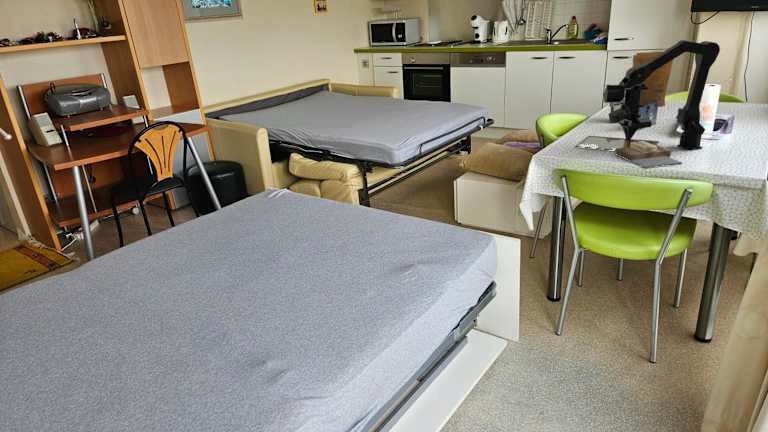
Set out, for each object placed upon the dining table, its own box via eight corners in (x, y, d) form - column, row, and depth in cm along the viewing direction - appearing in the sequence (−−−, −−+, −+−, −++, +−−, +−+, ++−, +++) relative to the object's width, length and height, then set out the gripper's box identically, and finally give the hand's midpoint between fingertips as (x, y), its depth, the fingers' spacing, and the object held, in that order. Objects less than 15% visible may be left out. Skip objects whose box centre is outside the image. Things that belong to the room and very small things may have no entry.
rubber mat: (665, 157, 193) (665, 155, 193) (681, 164, 185) (681, 162, 184) (630, 161, 191) (630, 160, 191) (645, 168, 183) (645, 166, 183)
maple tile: (641, 145, 200) (642, 140, 199) (656, 151, 192) (657, 146, 191) (629, 147, 200) (630, 142, 199) (644, 153, 191) (644, 147, 191)
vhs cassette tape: (650, 123, 241) (653, 102, 237) (657, 124, 239) (659, 102, 235) (627, 130, 232) (630, 108, 228) (634, 131, 230) (636, 109, 226)
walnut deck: (653, 150, 202) (654, 144, 201) (670, 156, 193) (671, 150, 192) (615, 154, 200) (616, 148, 199) (630, 161, 191) (631, 155, 190)
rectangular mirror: (575, 148, 213) (649, 155, 198) (575, 146, 213) (649, 153, 197) (588, 137, 227) (658, 143, 212) (588, 135, 227) (659, 141, 211)
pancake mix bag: (666, 107, 269) (674, 51, 258) (627, 106, 279) (633, 52, 268) (668, 105, 274) (676, 50, 263) (629, 103, 284) (635, 50, 273)
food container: (622, 118, 254) (624, 98, 250) (631, 120, 249) (634, 99, 245) (601, 121, 251) (603, 101, 247) (610, 124, 245) (612, 103, 242)
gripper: (599, 99, 206) (596, 137, 212) (627, 107, 189) (622, 149, 195) (625, 97, 208) (621, 134, 214) (655, 104, 190) (649, 145, 196)
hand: (628, 141), depth 205 cm, fingers closed
